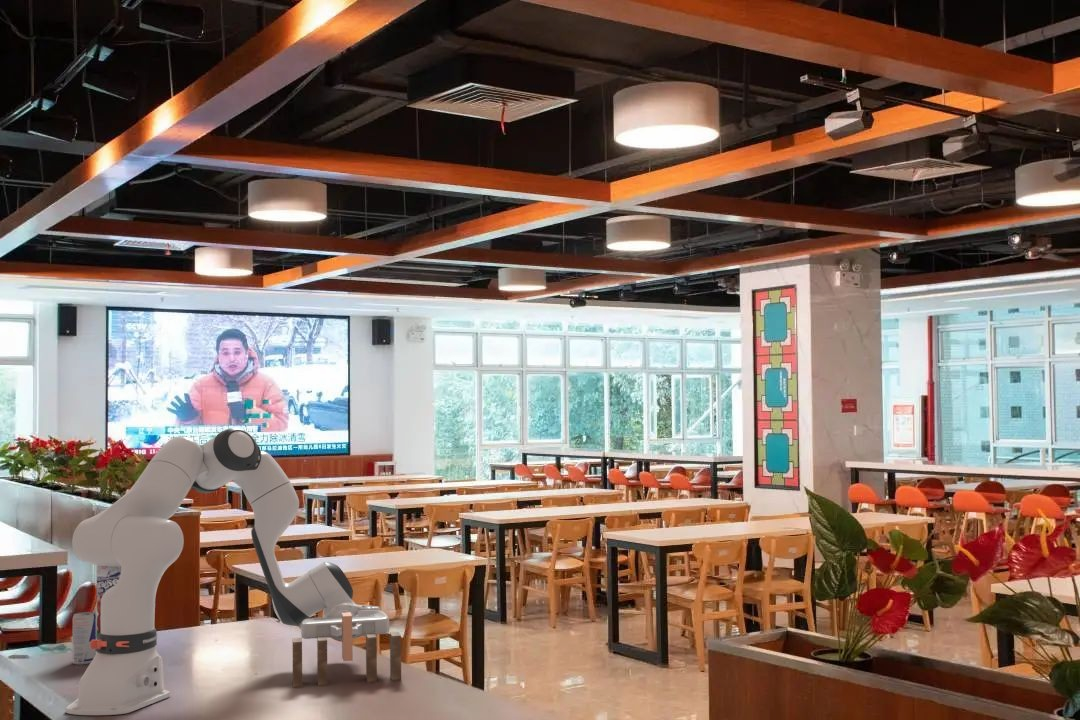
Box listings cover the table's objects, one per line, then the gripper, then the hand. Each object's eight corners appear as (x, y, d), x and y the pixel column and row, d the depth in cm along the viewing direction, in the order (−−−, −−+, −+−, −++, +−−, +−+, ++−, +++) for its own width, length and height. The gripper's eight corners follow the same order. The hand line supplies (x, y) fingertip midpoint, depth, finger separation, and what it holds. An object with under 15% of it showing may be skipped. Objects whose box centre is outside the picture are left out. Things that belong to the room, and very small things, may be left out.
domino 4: (368, 682, 253) (367, 637, 253) (366, 677, 257) (365, 633, 258) (377, 681, 253) (376, 637, 254) (375, 677, 258) (374, 633, 258)
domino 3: (343, 661, 252) (343, 616, 252) (342, 656, 257) (341, 612, 257) (352, 660, 253) (352, 615, 253) (351, 656, 257) (350, 612, 258)
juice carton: (123, 647, 297) (123, 544, 299) (145, 651, 291) (145, 546, 292) (92, 652, 290) (92, 547, 292) (113, 657, 284) (114, 550, 285)
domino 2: (318, 686, 250) (318, 640, 251) (317, 681, 255) (317, 636, 255) (327, 685, 251) (327, 640, 251) (326, 680, 255) (326, 636, 256)
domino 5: (392, 680, 254) (392, 636, 255) (390, 676, 259) (389, 632, 259) (401, 680, 255) (400, 635, 255) (399, 675, 259) (398, 631, 260)
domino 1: (293, 687, 249) (292, 642, 249) (292, 682, 254) (292, 638, 254) (302, 687, 249) (302, 641, 250) (301, 682, 254) (301, 637, 255)
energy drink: (99, 660, 281) (99, 611, 282) (88, 664, 276) (89, 615, 277) (79, 660, 282) (79, 611, 283) (68, 664, 277) (68, 615, 277)
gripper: (298, 611, 265) (300, 621, 252) (385, 605, 270) (391, 615, 257) (298, 638, 265) (300, 650, 251) (385, 632, 270) (392, 643, 256)
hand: (347, 632), depth 254 cm, fingers closed on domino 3, 2 cm apart
